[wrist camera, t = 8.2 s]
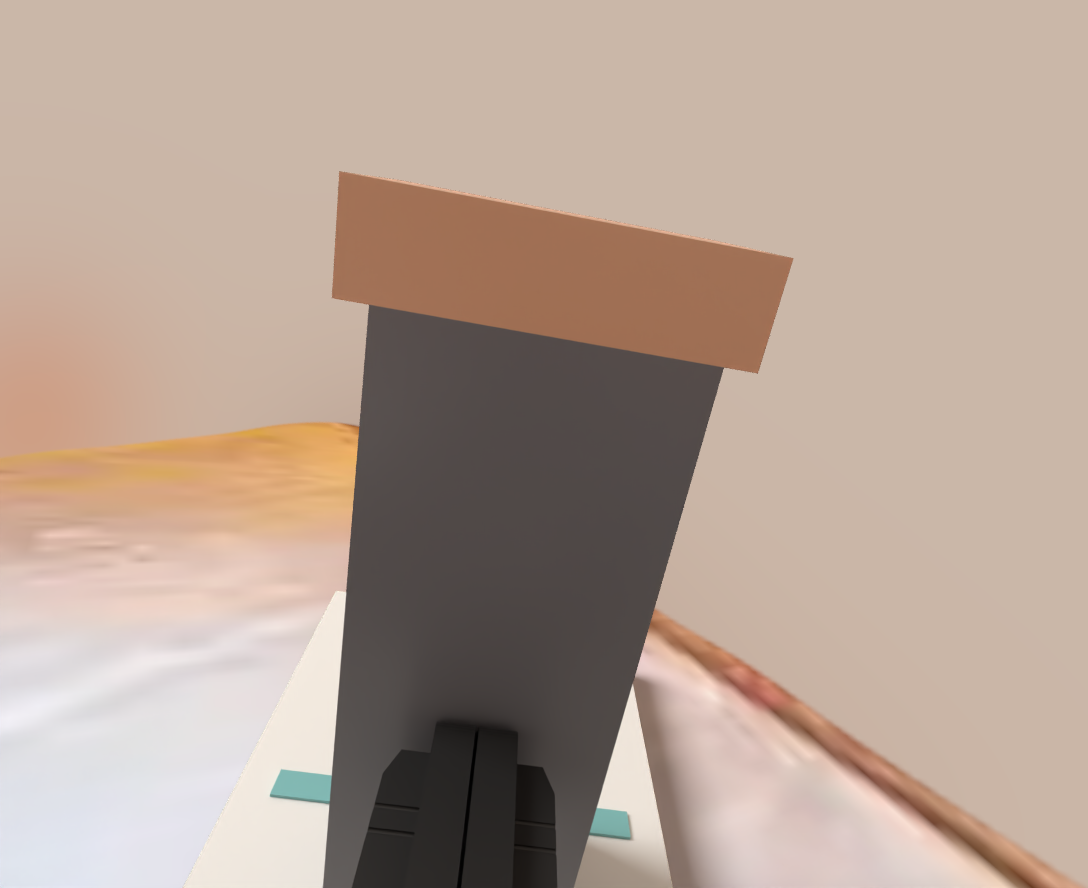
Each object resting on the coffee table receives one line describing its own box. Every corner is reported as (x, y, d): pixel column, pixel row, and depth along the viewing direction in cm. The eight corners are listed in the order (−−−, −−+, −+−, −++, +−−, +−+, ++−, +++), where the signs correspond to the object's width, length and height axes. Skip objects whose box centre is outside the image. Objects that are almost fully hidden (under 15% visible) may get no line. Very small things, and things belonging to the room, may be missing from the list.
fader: (293, 954, 13) (339, 171, 8) (346, 790, 17) (402, 180, 12) (569, 982, 14) (793, 258, 8) (562, 816, 18) (714, 240, 12)
